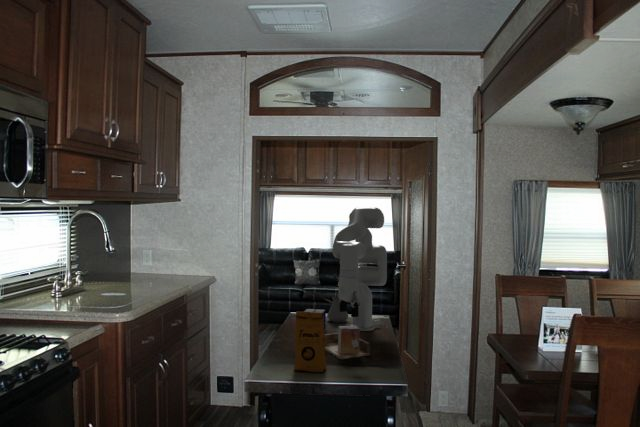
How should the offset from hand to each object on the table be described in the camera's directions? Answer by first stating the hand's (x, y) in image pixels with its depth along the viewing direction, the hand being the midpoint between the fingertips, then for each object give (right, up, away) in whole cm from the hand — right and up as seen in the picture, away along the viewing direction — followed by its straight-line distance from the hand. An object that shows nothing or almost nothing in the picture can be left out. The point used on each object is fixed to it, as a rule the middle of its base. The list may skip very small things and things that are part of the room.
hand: (348, 314), depth 200 cm
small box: (0, -16, 0) cm, 16 cm away
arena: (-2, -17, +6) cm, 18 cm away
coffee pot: (-7, -16, +60) cm, 62 cm away
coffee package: (-16, -17, -19) cm, 30 cm away
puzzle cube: (-15, -17, +37) cm, 43 cm away
